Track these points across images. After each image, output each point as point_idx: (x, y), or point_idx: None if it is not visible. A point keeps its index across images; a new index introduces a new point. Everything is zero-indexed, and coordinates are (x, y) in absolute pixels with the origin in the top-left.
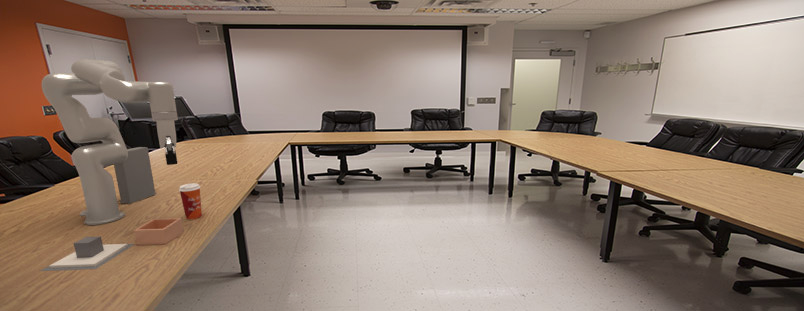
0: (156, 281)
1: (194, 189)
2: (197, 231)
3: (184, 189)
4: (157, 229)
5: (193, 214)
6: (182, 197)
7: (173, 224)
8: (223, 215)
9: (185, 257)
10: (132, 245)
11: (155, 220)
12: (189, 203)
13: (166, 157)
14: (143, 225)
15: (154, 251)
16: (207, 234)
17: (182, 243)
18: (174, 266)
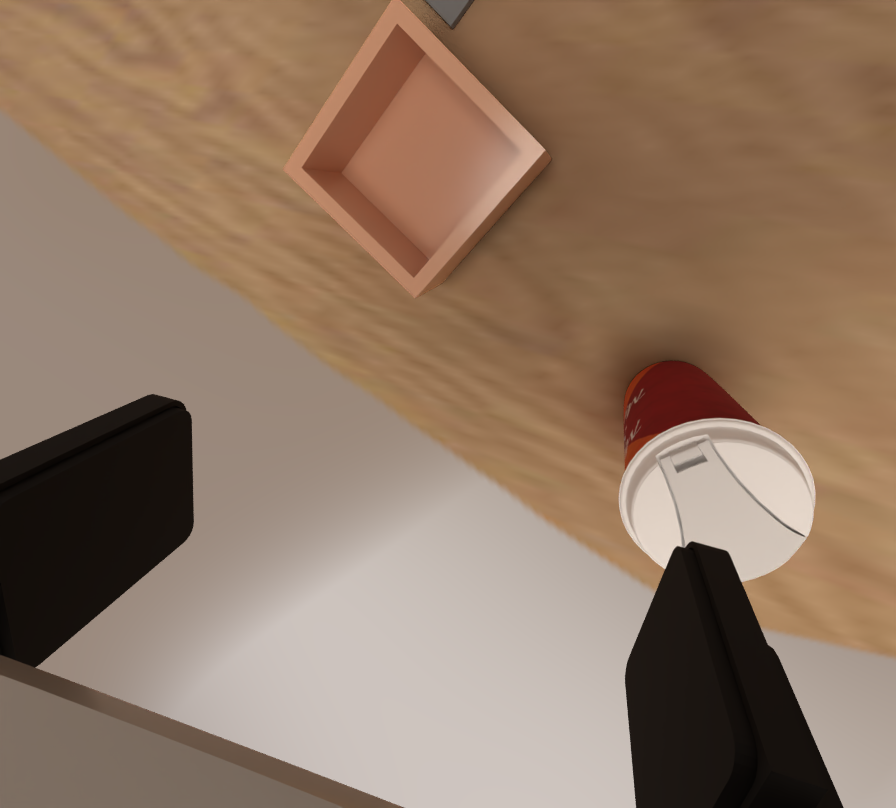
0: (11, 75)
1: (622, 510)
2: (411, 340)
3: (660, 452)
4: (309, 137)
5: (626, 400)
6: (685, 406)
7: (355, 236)
8: (544, 511)
9: (152, 214)
10: (434, 7)
11: (519, 157)
12: (633, 417)
13: (21, 464)
14: (452, 67)
15: (297, 110)
16: (337, 361)
17: (307, 242)
18: (96, 158)
